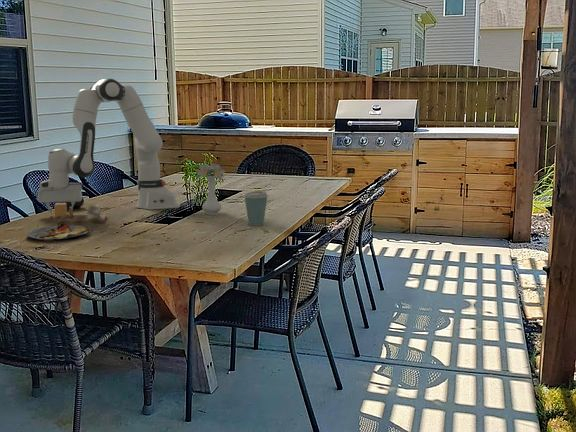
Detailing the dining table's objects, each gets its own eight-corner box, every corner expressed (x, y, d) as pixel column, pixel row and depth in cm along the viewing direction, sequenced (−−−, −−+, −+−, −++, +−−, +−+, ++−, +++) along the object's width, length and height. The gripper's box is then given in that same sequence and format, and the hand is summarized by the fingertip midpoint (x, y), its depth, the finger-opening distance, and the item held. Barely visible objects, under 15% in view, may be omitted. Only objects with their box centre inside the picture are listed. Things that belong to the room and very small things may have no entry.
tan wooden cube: (67, 214, 318) (66, 203, 317) (65, 216, 313) (65, 204, 312) (56, 214, 317) (55, 203, 316) (54, 216, 312) (54, 205, 311)
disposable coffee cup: (250, 227, 288) (249, 194, 286) (240, 223, 298) (240, 190, 295) (271, 225, 293) (271, 192, 290) (261, 221, 303) (261, 189, 300)
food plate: (69, 227, 287) (69, 219, 287) (101, 235, 273) (100, 227, 272) (16, 238, 269) (15, 229, 268) (46, 247, 254) (46, 238, 253)
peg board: (106, 217, 310) (105, 203, 309) (103, 223, 297) (103, 208, 295) (62, 218, 307) (61, 204, 305) (57, 224, 293) (56, 209, 292)
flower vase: (227, 210, 330) (227, 161, 325) (221, 217, 312) (220, 165, 307) (202, 210, 331) (201, 161, 326) (194, 216, 313) (193, 165, 308)
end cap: (71, 211, 327) (70, 197, 326) (60, 210, 330) (59, 196, 328) (84, 207, 336) (83, 194, 335) (73, 206, 339) (72, 194, 337)
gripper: (82, 181, 317) (84, 209, 319) (38, 182, 313) (40, 210, 316) (80, 183, 311) (82, 211, 313) (35, 184, 307) (37, 212, 310)
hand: (60, 211), depth 315 cm, fingers open, 8 cm apart
